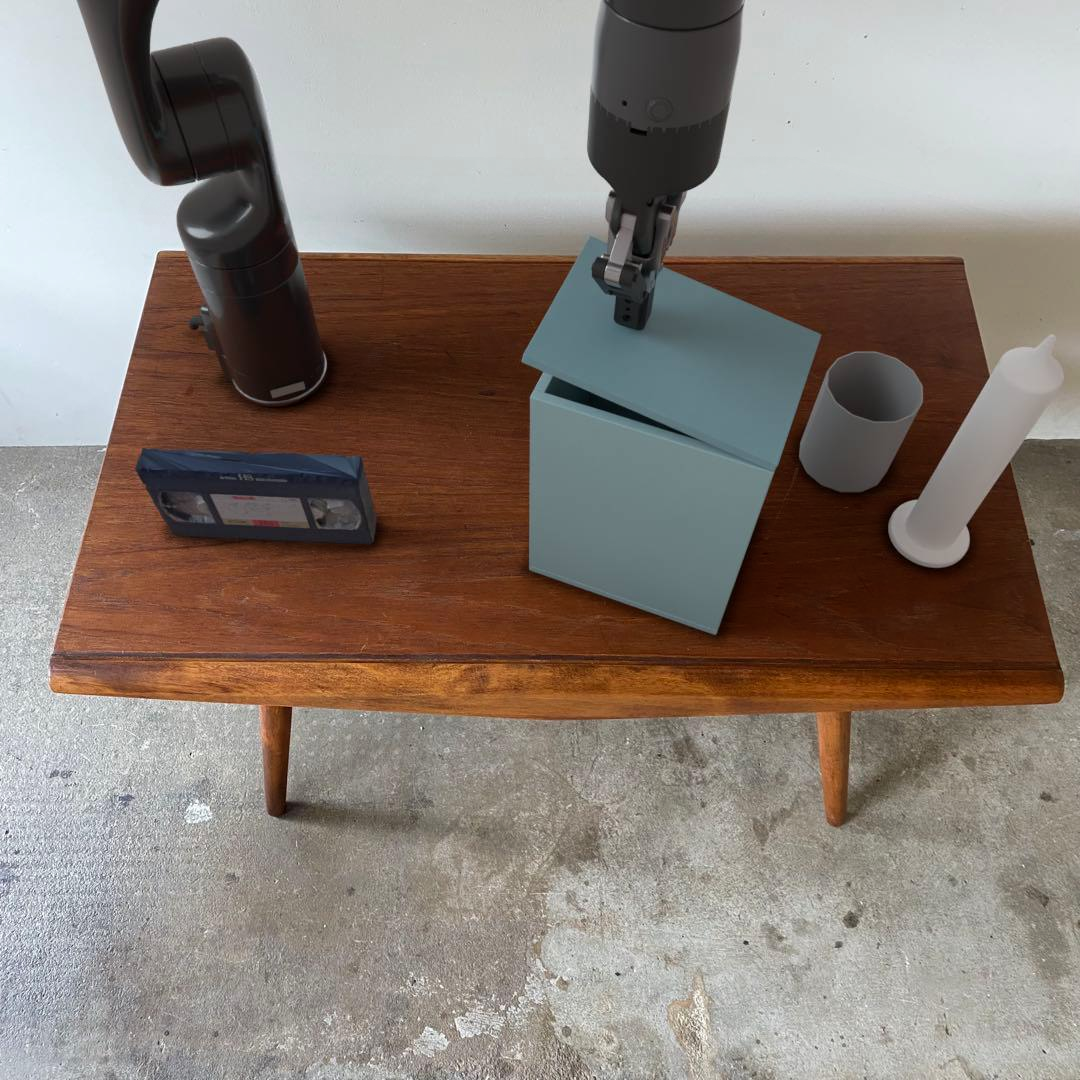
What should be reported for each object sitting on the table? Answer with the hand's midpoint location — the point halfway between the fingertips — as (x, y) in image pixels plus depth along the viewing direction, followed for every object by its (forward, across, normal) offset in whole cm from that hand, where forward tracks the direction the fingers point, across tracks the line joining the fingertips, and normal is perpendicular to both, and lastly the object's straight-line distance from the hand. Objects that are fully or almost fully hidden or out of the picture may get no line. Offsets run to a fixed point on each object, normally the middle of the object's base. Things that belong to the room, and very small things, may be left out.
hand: (631, 320), depth 65 cm
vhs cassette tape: (+26, +11, -28) cm, 40 cm away
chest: (+26, 0, +4) cm, 26 cm away
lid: (+2, 0, +3) cm, 4 cm away
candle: (+26, -10, +27) cm, 39 cm away
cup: (+26, -16, +18) cm, 36 cm away
